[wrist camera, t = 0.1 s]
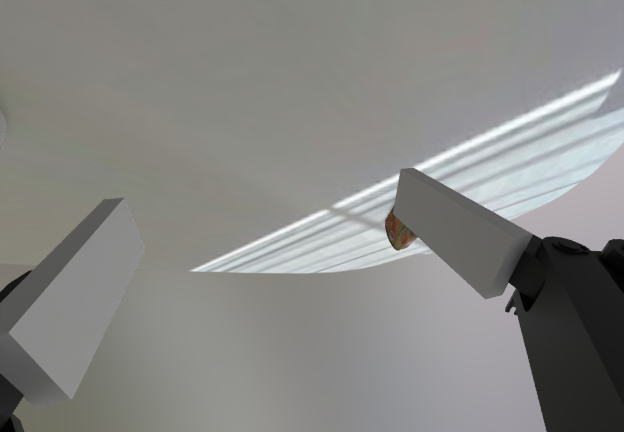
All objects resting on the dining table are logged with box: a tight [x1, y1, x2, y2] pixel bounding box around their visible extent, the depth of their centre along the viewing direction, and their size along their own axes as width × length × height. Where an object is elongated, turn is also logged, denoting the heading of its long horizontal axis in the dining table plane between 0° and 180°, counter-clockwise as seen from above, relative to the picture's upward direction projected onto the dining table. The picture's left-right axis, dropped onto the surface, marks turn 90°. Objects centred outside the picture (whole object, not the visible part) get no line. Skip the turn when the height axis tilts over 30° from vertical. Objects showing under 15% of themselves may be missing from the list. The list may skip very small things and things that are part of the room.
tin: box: [385, 207, 417, 250], centre depth 61 cm, size 15×3×8 cm, turn 2°
